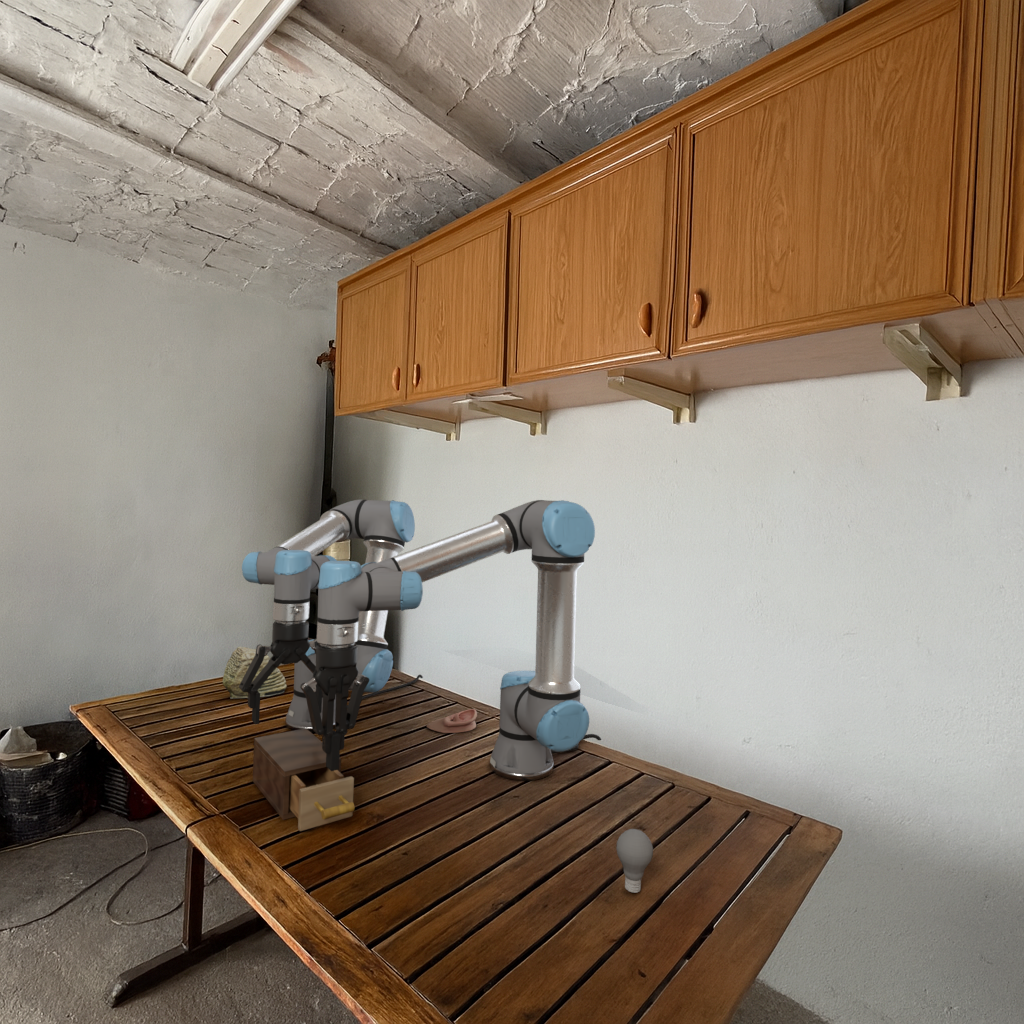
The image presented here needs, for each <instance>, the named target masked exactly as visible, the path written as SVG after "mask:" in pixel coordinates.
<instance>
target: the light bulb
mask: <svg viewBox="0 0 1024 1024" xmlns="http://www.w3.org/2000/svg"><path fill="white" fill-rule="evenodd" d="M615 849H616V854H617V857H618V859H619V861H620V863H621V865H622V867H623V873H624V874H623V875H624V876H625V878H624V888H625V890H627V891H628V892H630V893H634V894H635V893H639V892H640V891H641V889H642V887H641V886H642V879H643V877H644V875H645V871H646V868H647V867H648V866H649V864H650V863H651V861H652V859H653V855H654V847H653V843H652V841H651V838H649V836H648V835H647V834H646V833H645V832H643V831H642V830H641V829H636V828H629V829H627V830H625V831H623V832H622V833H621V834H620V835H619V837H618V839H617V841H616V847H615Z"/></svg>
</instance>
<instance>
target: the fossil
mask: <svg viewBox="0 0 1024 1024" xmlns="http://www.w3.org/2000/svg"><path fill="white" fill-rule="evenodd" d="M255 654H256V648H251V647H247V646H246V647H245V646H238V647H237V648H236V649H235V650H233V651H232V653H231V656H230V657H229V659H228V660H227V663H226V666H225V668H224V671H223V675H222V676H223V677H222V685H223V687H224V688H225V690H226V691H228V693H229V698H230V699H248V692H243V691H242V690H241V689H240V688H239V685H240V683H241V681H242V679H243V677H244V675H245V674H246V672H247V670H248V668H249V666H250V664H251V662H252V660H253V658H254V656H255ZM270 658H271V657H270V656H269V655H268V654H267V655H266V656H264V660H263V662H262V664H261V666H260V667H259V669H258V671H257V673H256V675H255V677H254V679H255V678H256V677H257V675H258V674H259V673H260V672H261V671H262V669H263V668H264V667H265V666H266V664H267V663H268V661H269V659H270ZM254 679H253V680H254ZM252 682H253V681H252ZM287 687H288V686H287V680H286V678H285V676H284V674H283V673H282V672H281V669H279V667H277V668H276V669H275V670H274V671H273V672H272V673H271V675H270V676H269V677H268V678H267V680H266V681H265V682H264V683H263V684H262V686H261V687H260V688H259V689H258V692H259V693H260V698H264V697H271V696H275V695H281V694H284V693H285V691H286V689H287Z"/></svg>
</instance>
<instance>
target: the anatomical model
mask: <svg viewBox="0 0 1024 1024" xmlns="http://www.w3.org/2000/svg"><path fill="white" fill-rule="evenodd" d="M477 717H478V711H477V709H475V708H470V709H469V708H468V709H465V710H462V711H458V712H455V713H453V714H450V715H448V716H445V717H441V718H437V719H434V720H433V721H430V722H429V723H428V724H427V725H426V728H427V729H429V730H432V731H434V732H438V733H443V734H455V733H456V734H457V733H464V732H465V733H466V732H470V731H473V730H474V729H476V727H477V723H476V719H477Z"/></svg>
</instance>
